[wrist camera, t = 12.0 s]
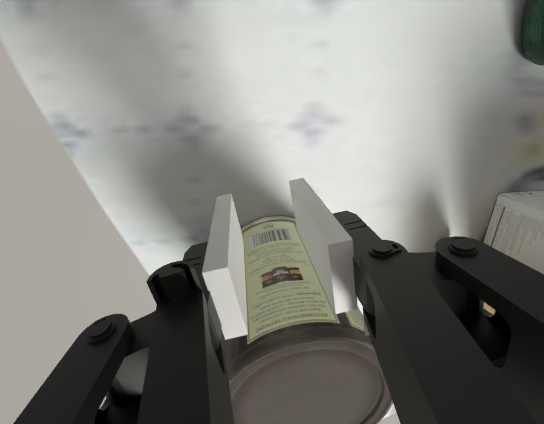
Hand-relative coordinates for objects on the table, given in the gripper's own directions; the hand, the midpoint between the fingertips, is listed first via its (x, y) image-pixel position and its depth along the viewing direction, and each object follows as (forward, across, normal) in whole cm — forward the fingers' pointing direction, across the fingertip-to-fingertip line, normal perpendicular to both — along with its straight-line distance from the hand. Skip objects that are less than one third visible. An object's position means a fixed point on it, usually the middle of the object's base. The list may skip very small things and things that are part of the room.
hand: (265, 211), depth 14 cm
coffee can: (+10, 0, -10) cm, 14 cm away
